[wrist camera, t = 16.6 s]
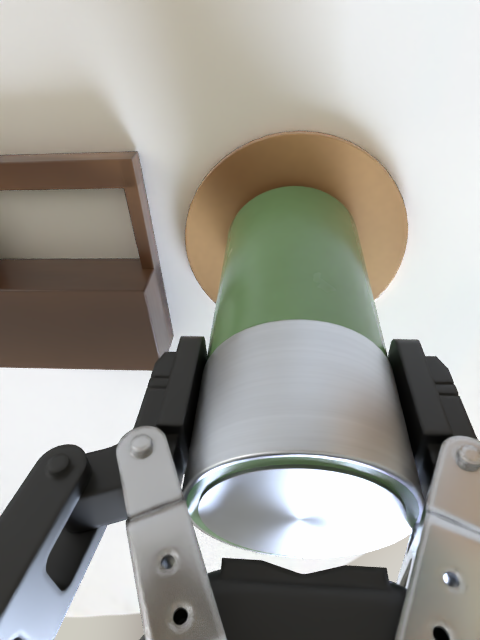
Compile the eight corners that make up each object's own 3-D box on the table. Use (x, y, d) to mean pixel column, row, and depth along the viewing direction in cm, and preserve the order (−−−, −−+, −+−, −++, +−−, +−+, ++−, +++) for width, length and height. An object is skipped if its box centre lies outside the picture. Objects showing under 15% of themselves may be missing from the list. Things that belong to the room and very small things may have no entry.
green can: (350, 471, 21) (459, 676, 8) (229, 467, 21) (157, 652, 9) (351, 213, 21) (453, 36, 9) (231, 215, 22) (167, 52, 9)
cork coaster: (300, 355, 24) (301, 360, 24) (147, 256, 21) (145, 260, 21) (455, 230, 19) (457, 234, 19) (280, 71, 16) (280, 73, 15)
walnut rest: (173, 335, 24) (163, 371, 22) (21, 333, 25) (-4, 367, 23) (138, 150, 18) (117, 175, 16) (-64, 156, 19) (-110, 180, 17)
